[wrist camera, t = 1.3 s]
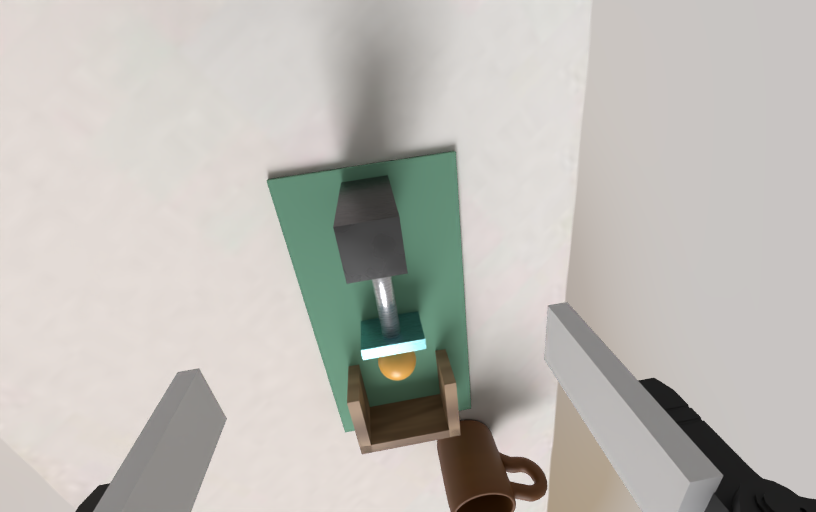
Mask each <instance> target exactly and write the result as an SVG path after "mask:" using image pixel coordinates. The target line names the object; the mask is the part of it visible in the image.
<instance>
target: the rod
mask: <svg viewBox="0 0 816 512" xmlns="http://www.w3.org/2000/svg"><path fill="white" fill-rule="evenodd" d="M333 229H334V233H335V237H336V241H337V246H338V250H339V254H340V258H341V262H342V266H343V271H344V275H345V279H346V283H347V284H349V283H355V282H361V281H367V280H372V285H373V290H374V295H375V300H376V305H377V310H378V315H379V318H375V319H370V320H364V321H361V354H362V358H363V360H367V359H372V358H378V357H383V356H389V355H395V354H400V353H406V352H411V351H417V350H422V349H426V341H425V336H424V332H423V328H422V324H421V320H420V316H419V312H418V311H416V312H410V313H404V314H398V311H397V305H396V299H395V293H394V287H393V281H392V276H396V275H402V274H408V272H407V265H406V258H405V251H404V244H403V237H402V230H401V223H400V217H399V213H398V209H397V206H396V202H395V199H394V195H393V192H392V188H391V184H390V181H389V177H388V175H386V176H379V177H373V178H366V179H360V180H353V181H347V182H341V185H340V191H339V196H338V202H337V208H336V213H335V219H334V225H333Z"/></svg>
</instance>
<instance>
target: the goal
mask: <svg viewBox="0 0 816 512" xmlns="http://www.w3.org/2000/svg"><path fill="white" fill-rule="evenodd" d="M435 354H436V363H437V372H438V380H439V389H440V394H437V395H431V396H426V397H421V398H415V399H410V400H405V401H399V402H394V403H389V404H383V405H378V406H372V407H370V406H369V402H368V398H367V394H366V390H365V386H364V382H363V378H362V374H361V370H360V366H359V365H354V366H348V389H347V405H348V408H349V412H350V415H351V419H352V422H353V425H354V429H355V432H356V436H357V439H358V443H359V446H360V449H361V453H362V454H366V453H371V452H376V451H382V450H387V449H392V448H397V447H402V446H408V445H413V444H418V443H423V442H428V441H433V440H439V439H444V438H449V437H454V436H459V435H461V434H460V422H459V410H458V398H457V387H456V381H455V378H454V374H453V371H452V368H451V365H450V362H449V358H448V355H447V352H446V349H443V350H437V351H435Z"/></svg>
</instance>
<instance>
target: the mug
mask: <svg viewBox="0 0 816 512" xmlns="http://www.w3.org/2000/svg"><path fill="white" fill-rule="evenodd" d="M459 422H460V434H461V435H459V436H454V437H449V438H444V439H439V440H438V441H437V450H438V455H439V460H440V465H441V471H442V476H443V480H444V485H445V490H446V495H447V500H448V504H449V507H450V511H451V512H514V510H515V507H516V501H515V499H520V500H525V501H536V500H538V499H540V498H541V497H543V496H544V495H545V493H546V490H547V480H546V477H545V474H544V472H543V471H542V469H541V468H540V467H539V466H538V465H537V464H536V463H534V462H533V461H531V460H529V459H527V458H524V457H509V456H507V455H504V454H502V453H500V452H498V449H497V447H496V444H495V441H494V439H493V436H492V434H491V432H490V430H489V428H488V427H487V426H485V425H484V424H483V423H481V422H478V421H474V420H464V421H459ZM506 472H511V473H517V472H524V473H526V474H528V475H529V476H530V477H531V478H532V479H533V481H534V484H533V485H525V484H519V483H514V482H510V481H509V479H508V476H507V473H506Z"/></svg>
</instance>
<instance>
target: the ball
mask: <svg viewBox="0 0 816 512" xmlns="http://www.w3.org/2000/svg"><path fill="white" fill-rule="evenodd" d="M378 365H379V368H380V371H381V372H382V374H383V375H384V376H386V377H387V378H389V379H391V380H396V381H397V380H403V379H405V378H407V377H408V376H410V375H411V373H412V372H413V371H414V369H415V366H416V355H415V352H414V351H411V352H406V353H400V354H395V355H389V356H383V357H378Z"/></svg>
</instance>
